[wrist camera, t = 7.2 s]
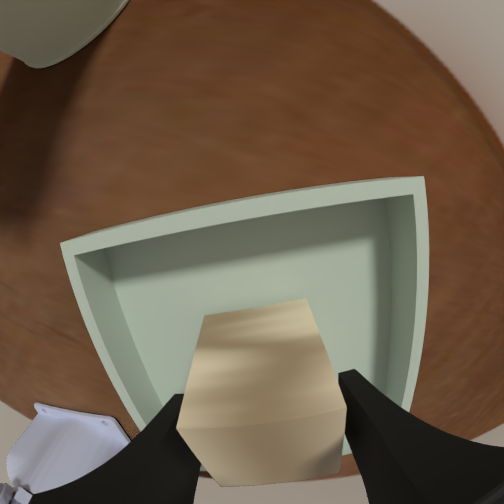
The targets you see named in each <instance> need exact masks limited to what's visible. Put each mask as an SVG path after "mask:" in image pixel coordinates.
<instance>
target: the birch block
mask: <svg viewBox="0 0 504 504" xmlns="http://www.w3.org/2000/svg"><path fill="white" fill-rule="evenodd" d="M346 411H347V407H346V404H345V401H344V398H343V395H342V392H341V390H340V387H339V384H338V381H337V378H336V376H335V373H334V370H333V367H332V365H331V362H330V359H329V357H328V354H327V351H326V349H325V346H324V343H323V341H322V338H321V335H320V333H319V330H318V327H317V325H316V322H315V320H314V317H313V314H312V312H311V309H310V307H309V304H308V302H307V299H306V298H305V299H299V300H294V301H289V302H284V303H278V304H273V305H267V306H261V307H255V308H249V309H243V310H237V311H231V312H224V313H218V314H211V315H204V319H203V322H202V326H201V330H200V334H199V338H198V341H197V345H196V349H195V353H194V357H193V361H192V365H191V369H190V373H189V377H188V381H187V385H186V389H185V393H184V397H183V401H182V405H181V410H180V414H179V418H178V422H177V427H176V429H177V430H178V432H179V433H180V435H181V436H182V438H183V439H184V441H185V442H186V443H187V445H188V446H189V448H190V449H191V450H192V452H193V453H194V454H195V456H196V457H197V458H198V460H199V461H200V462H201V463H202V465H203V466H204V467H205V469H206V470H207V471H208V472H209V474H210V475H211V476H212V477H213V478H214V480H215V481H216V482H217V483H218V484H219V485H220V486H221V487H233V486H254V485H266V484H275V483H284V482H291V481H298V480H304V479H309V478H315V477H320V476H324V475H329V474H333V473H337V472H340V465H341V458H342V450H343V442H344V433H345V422H346Z"/></svg>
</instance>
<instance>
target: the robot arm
mask: <svg viewBox="0 0 504 504" xmlns="http://www.w3.org/2000/svg"><path fill="white" fill-rule="evenodd" d="M338 384H339V387H340V390H341V392H342V395H343V398H344V401H345V404H346V407H347V411H346V422H345V433H344V434H345V436H346V439H347V441H348V444H349V446H350V449H351V451H352V454H353V456H354V458H355V461H356V463H357V466H358V468H359V471H360V473H361V476H362V479H363V482H364V485H365V488H366V492H367V497H368V501H369V504H504V447H498V446H491V445H486V444H481V443H477V442H473V441H469V440H466V439H463V438H460V437H457V436H455V435H452V434H449V433H446V432H444V431H442V430H440V429H438V428H435V427H433V426H431V425H430V424H428V423H426V422H424V421H422V420H420V419H419V418H417V417H415V416H414V415H412V414H411V413H409V412H408V411H406V410H405V409H403V408H402V407H400V406H399V405H397V404H396V403H395V402H393V401H392V400H391V399H390V398H388V397H387V396H386V395H384V394H383V393H382V392H381V391H379V390H378V389H377V388H376V387H375V386H374V385H372V384H371V383H370V382H369V381H368V380H367V379H366V378H365V377H364V376H363V375H361V374H360V373H359V372H358V371H357V370H356V369H352V370H348V371H344V372H340V373H338ZM183 397H184V394H174V395H173V396H172V397H171V399H170V400H169V401H168V402H167V403H166V404H165V406H164V407H163V408H162V409H161V410H160V411H159V412H158V414H157V415H156V416H155V417H154V418H153V419H152V420H151V421H150V422H149V424H148V425H147V426H146V427H145V428H144V429H143V430H142V431H141V432H140V433H139V434H138V435H137V436H136V437H135V438H134V439H133V440H132V441H130V439H129V438H128V437H127V435H126V434H125V432H124V431H123V429H122V428H121V426H120V425H119V423H118V422H117V420H116V419H114V418H113V417H110V416H103V415H96V414H89V413H83V412H77V411H72V410H67V409H62V408H57V407H53V406H49V405H45V404H41V403H35V404H34V407H35V409H36V411H37V412H38V414H37V416H36V417H35V418H34V419H33V421H32V422H31V423H30V425H29V426H28V427H27V428H26V430H25V431H24V432H23V434H22V435H21V436H20V438H19V439H18V440H17V442H16V443H15V445H14V446H13V447H12V449H11V450H10V452H9V454H8V457H7V464H6V465H7V473H8V476H9V479H10V481H11V482H12V484H13V486H14V487H13V488H12V487H11V486H10V485H8V484H7V483H4V484H3V483H0V504H193V502H194V496H195V491H196V486H197V481H198V477H199V472H200V467H201V462H200V461H199V460H198V458H197V457H196V456H195V454H194V453H193V452H192V450H191V449H190V448H189V446H188V445H187V443H186V442H185V441H184V439H183V438H182V436H181V435H180V433H179V432H178V430H177V429H176V427H177V422H178V418H179V414H180V410H181V405H182V401H183Z"/></svg>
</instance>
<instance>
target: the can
mask: <svg viewBox="0 0 504 504" xmlns="http://www.w3.org/2000/svg"><path fill="white" fill-rule="evenodd" d="M128 1H129V0H0V51H1V52H3V53H6V54H8V55H11V56H13V57H15V58H17V59H19V60H21V61H23V62H24V63H25V64H26V65H28V66H30V67H33V68H45V67H49V66H52V65H54V64H57V63H59V62H61V61H63V60H65V59H67V58H68V57H70V56H72V55H73V54H75V53H76V52H78V51H79V50H80V49H82V48H83V47H84V46H86V45H87V44H88V43H89V42H91V41H92V40H93V39H94V38H95V37H97V36H98V35H99V34H100V33H101V32H102V31H103V30H104V29H105V28H106V27H107V26H108V25H109V24H110V23H111V22H112V21H113V20H114V19H115V18H116V17H117V16H118V14H119V13H120V12H121V11H122V10H123V8H124V7H125V6H126V4H127V3H128Z"/></svg>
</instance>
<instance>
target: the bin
mask: <svg viewBox="0 0 504 504" xmlns="http://www.w3.org/2000/svg"><path fill="white" fill-rule="evenodd" d="M60 245H61V249H62V253H63V257H64V261H65V264H66V268H67V271H68V275H69V278H70V281H71V285H72V288H73V291H74V294H75V297H76V300H77V303H78V305H79V308H80V311H81V314H82V316H83V319H84V322H85V324H86V327H87V329H88V332H89V334H90V336H91V339H92V341H93V344H94V346H95V348H96V350H97V353H98V355H99V357H100V359H101V361H102V363H103V365H104V367H105V370H106V372H107V374H108V376H109V378H110V380H111V381H112V383H113V385H114V387H115V389H116V391H117V393H118V395H119V396H120V398H121V400H122V402H123V403H124V405H125V407H126V409H127V410H128V412H129V414H130V415H131V417H132V419H133V420H134V422H135V423H136V425H137V427H138V428H139V430H140V431H142V430H143V429H144V428H145V427H146V426H147V425H148V424H149V422H150V421H151V420H152V419H153V418H154V417H155V416H156V415H157V414H158V412H159V411H160V410H161V409H162V408H163V407H164V406H165V404H166V403H167V402H168V401H169V400H170V399H171V397H172V396H173V395H174V394H184V393H185V389H186V385H187V381H188V377H189V373H190V369H191V365H192V361H193V357H194V353H195V349H196V345H197V341H198V338H199V334H200V330H201V326H202V322H203V319H204V315H211V314H218V313H224V312H231V311H237V310H243V309H249V308H255V307H261V306H267V305H273V304H278V303H284V302H289V301H294V300H299V299H305V298H306V299H307V302H308V304H309V307H310V309H311V312H312V314H313V317H314V320H315V322H316V325H317V327H318V330H319V333H320V335H321V338H322V341H323V343H324V346H325V349H326V351H327V354H328V357H329V359H330V362H331V365H332V367H333V370H334V373H335V376H336V378H337V381H338V373H340V372H344V371H348V370H352V369H356V370H357V371H358V372H359V373H360V374H361V375H363V376H364V377H365V378H366V379H367V380H368V381H369V382H370V383H371V384H372V385H374V386H375V387H376V388H377V389H378V390H379V391H381V392H382V393H383V394H384V395H386V396H387V397H388V398H390V399H391V400H392V401H393V402H395V403H396V404H397V405H399V406H400V407H402V408H403V409H405V410H406V411H408V412H409V410H410V406H411V402H412V398H413V394H414V389H415V385H416V380H417V375H418V370H419V365H420V359H421V353H422V346H423V339H424V331H425V323H426V313H427V300H428V282H429V231H428V213H427V200H426V190H425V181H424V176H421V177H388V178H378V179H369V180H360V181H351V182H343V183H336V184H328V185H321V186H314V187H307V188H300V189H293V190H287V191H281V192H275V193H269V194H263V195H257V196H251V197H246V198H240V199H235V200H230V201H224V202H219V203H214V204H209V205H204V206H199V207H194V208H190V209H185V210H180V211H176V212H171V213H167V214H162V215H158V216H154V217H150V218H145V219H141V220H137V221H133V222H129V223H125V224H121V225H117V226H113V227H109V228H106V229H102V230H98V231H95V232H92V233H89V234H86V235H83V236H80V237H77V238H74V239H71V240H68V241H65V242H62V243H60ZM349 453H352V451H351V449H350V446H349V444H348V441H347V439H346V436H345V434H344V442H343V450H342V455H345V454H349ZM200 471H207V470H206V469H205V467H204V466H203V465H202V463H201V467H200Z"/></svg>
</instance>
